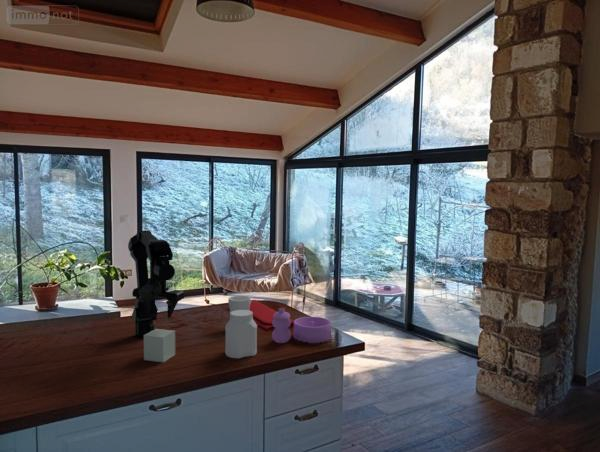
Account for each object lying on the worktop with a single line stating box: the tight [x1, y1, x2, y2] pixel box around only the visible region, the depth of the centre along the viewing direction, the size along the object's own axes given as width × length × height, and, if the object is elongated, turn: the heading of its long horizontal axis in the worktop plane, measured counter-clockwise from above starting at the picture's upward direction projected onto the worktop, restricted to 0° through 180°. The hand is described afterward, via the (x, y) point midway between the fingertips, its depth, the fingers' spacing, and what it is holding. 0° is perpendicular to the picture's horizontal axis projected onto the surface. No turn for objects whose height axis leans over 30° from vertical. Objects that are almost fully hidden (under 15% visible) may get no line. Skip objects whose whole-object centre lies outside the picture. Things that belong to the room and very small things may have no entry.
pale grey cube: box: [143, 328, 176, 363], centre depth 161 cm, size 8×8×9 cm
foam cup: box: [227, 295, 252, 313], centre depth 195 cm, size 10×9×13 cm
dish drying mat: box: [249, 299, 295, 332], centre depth 213 cm, size 16×41×4 cm, turn 32°
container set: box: [271, 307, 332, 344], centre depth 183 cm, size 25×15×13 cm, turn 115°
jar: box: [224, 310, 258, 359], centre depth 166 cm, size 12×10×15 cm
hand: (158, 316), depth 167 cm, fingers open, 9 cm apart
